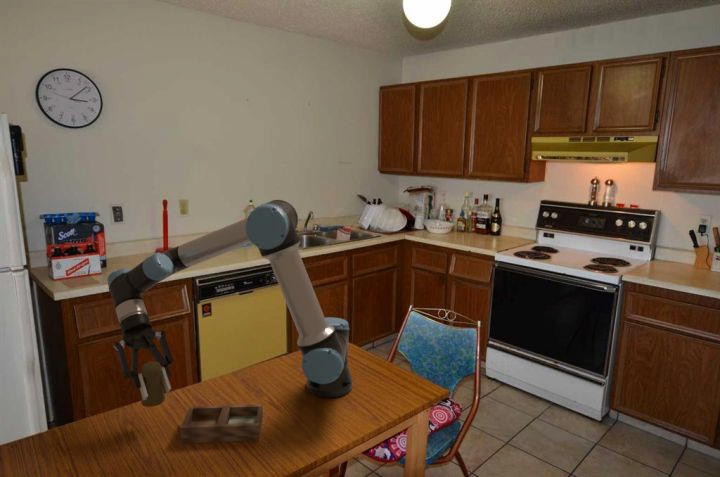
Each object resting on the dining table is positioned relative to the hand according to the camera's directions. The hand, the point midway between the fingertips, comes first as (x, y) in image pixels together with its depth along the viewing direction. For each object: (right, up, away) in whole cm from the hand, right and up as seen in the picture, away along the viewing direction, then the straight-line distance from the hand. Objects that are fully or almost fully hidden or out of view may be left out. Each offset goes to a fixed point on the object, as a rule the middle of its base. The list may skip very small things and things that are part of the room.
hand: (157, 394), depth 121 cm
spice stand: (+17, -11, +3) cm, 20 cm away
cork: (-3, -3, +3) cm, 5 cm away
